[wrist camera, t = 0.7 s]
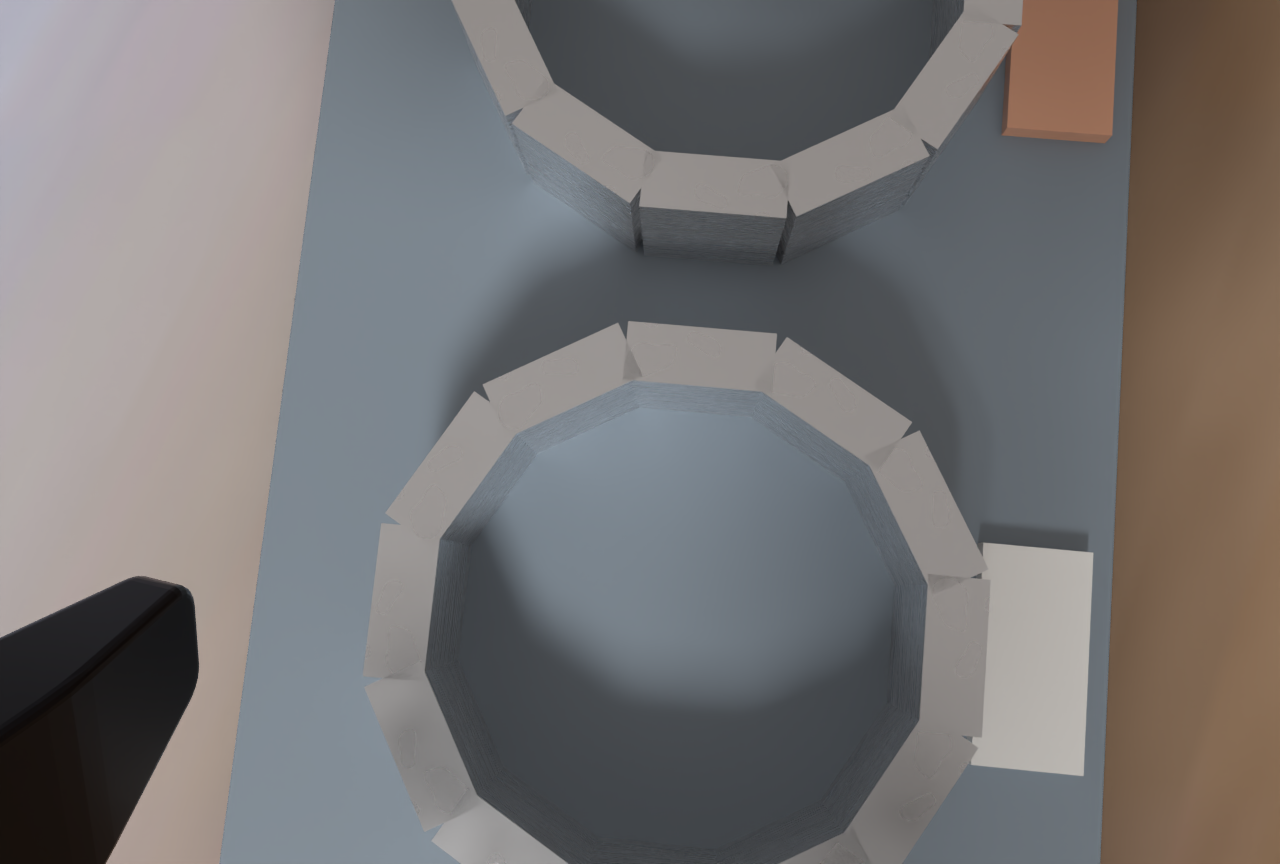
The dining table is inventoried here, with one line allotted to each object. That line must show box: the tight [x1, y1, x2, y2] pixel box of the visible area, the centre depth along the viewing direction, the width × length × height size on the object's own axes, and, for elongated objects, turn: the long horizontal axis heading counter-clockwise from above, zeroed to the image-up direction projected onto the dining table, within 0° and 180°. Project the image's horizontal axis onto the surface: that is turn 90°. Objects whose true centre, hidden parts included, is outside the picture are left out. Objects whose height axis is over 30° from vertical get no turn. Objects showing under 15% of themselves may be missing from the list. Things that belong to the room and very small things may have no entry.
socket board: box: [219, 0, 1137, 864], centre depth 22 cm, size 23×16×4 cm
